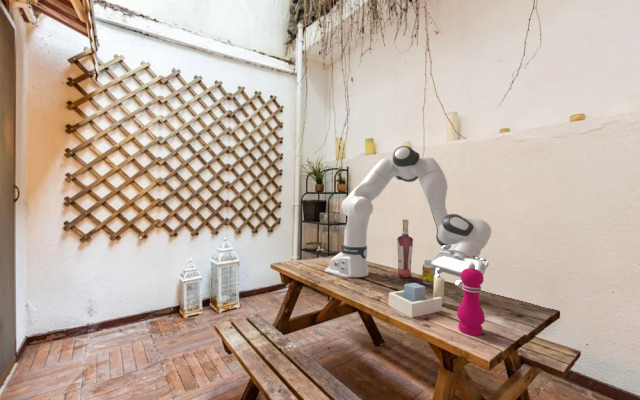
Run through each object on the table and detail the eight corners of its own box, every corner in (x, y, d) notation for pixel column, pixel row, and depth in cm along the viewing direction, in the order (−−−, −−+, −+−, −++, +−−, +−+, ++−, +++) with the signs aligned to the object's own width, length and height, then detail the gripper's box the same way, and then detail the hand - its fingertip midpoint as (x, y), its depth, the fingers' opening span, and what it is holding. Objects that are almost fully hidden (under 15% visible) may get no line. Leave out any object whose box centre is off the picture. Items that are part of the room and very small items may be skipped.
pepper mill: (455, 323, 89) (457, 259, 88) (482, 327, 86) (484, 262, 86) (457, 333, 82) (459, 264, 82) (486, 338, 79) (488, 267, 79)
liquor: (413, 279, 135) (415, 220, 134) (397, 278, 135) (399, 220, 135) (410, 275, 142) (411, 219, 141) (395, 274, 143) (396, 219, 142)
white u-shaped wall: (411, 317, 92) (411, 303, 92) (388, 305, 102) (388, 292, 102) (441, 310, 98) (441, 297, 98) (416, 299, 108) (417, 287, 108)
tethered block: (414, 311, 97) (414, 285, 97) (403, 306, 101) (404, 281, 101) (447, 304, 104) (448, 280, 104) (436, 299, 109) (437, 276, 108)
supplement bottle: (419, 281, 132) (420, 259, 132) (429, 280, 134) (430, 259, 134) (427, 285, 127) (428, 262, 127) (437, 284, 128) (438, 261, 128)
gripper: (494, 266, 102) (476, 296, 98) (446, 254, 121) (428, 280, 116) (487, 254, 100) (467, 285, 96) (439, 244, 118) (421, 270, 114)
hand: (446, 282), depth 106 cm, fingers open, 8 cm apart
